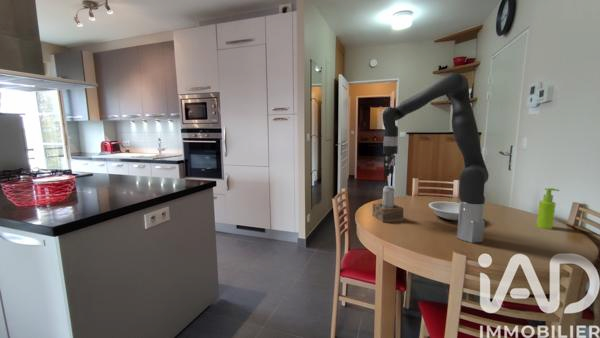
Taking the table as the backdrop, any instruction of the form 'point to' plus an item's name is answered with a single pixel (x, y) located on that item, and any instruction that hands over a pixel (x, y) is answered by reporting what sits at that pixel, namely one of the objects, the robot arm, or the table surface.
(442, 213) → the white vessel sink
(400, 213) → the square wooden frame
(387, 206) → the energy drink can
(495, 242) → the table surface
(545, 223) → the soap dispenser
